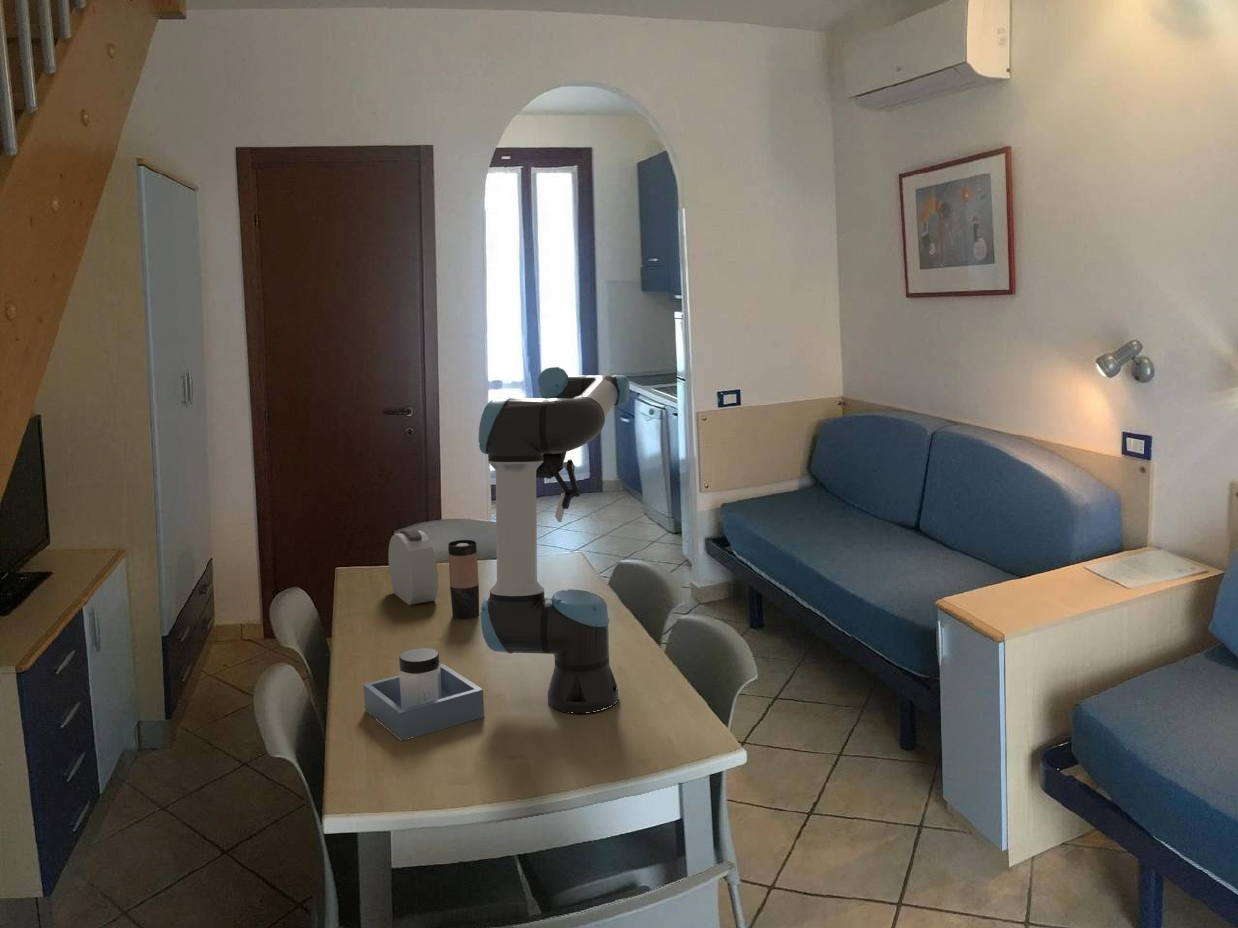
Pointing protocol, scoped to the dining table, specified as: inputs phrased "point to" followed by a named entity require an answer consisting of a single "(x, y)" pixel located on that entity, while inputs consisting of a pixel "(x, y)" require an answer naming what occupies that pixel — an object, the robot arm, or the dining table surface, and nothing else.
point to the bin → (424, 705)
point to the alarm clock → (413, 567)
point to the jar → (419, 677)
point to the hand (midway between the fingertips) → (531, 517)
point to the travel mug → (464, 579)
